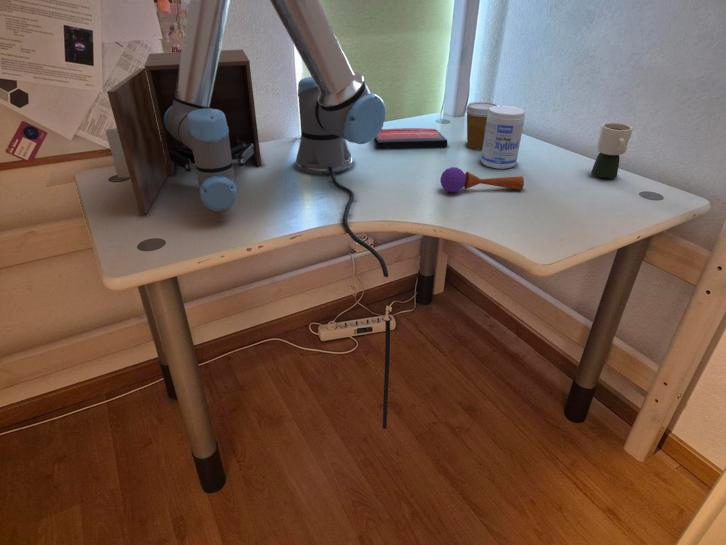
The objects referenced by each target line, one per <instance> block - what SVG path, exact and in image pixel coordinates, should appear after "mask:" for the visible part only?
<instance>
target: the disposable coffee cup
mask: <svg viewBox="0 0 726 545" xmlns="http://www.w3.org/2000/svg"><path fill="white" fill-rule="evenodd" d="M493 106H498V104H497V103H492V102H486V101H473V102H470V103H468V104H467V105H466V108H465V112H466V146H467V148H470V149H473V150H482V149H483V143H484V136H485V129H486V122H487V116H488V113H489V108H490V107H493Z"/></svg>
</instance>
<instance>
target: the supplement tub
mask: <svg viewBox="0 0 726 545" xmlns="http://www.w3.org/2000/svg"><path fill="white" fill-rule="evenodd" d="M525 117H526V110H525V109H523V108H521V107H519V106H512V105H497V106H493V107H490V108H489V113H488V116H487V122H486V129H485V136H484V143H483V149H481V156H480V161H481V163H482V164H483V165H484V166H486V167H488V168H491V169H497V170H501V169H502V170H505V169H510V168H511V169H512V168H513V167H515V166H516V165H517V160H518V155H519V151H520V145H521V139H522V135H523V128H524V124H525Z"/></svg>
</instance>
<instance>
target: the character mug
mask: <svg viewBox="0 0 726 545" xmlns="http://www.w3.org/2000/svg"><path fill="white" fill-rule="evenodd" d="M632 133H633V127H632V126H631V125H630V124H629V125H628V124H625V123H621V122H605V123H602V124H601V126H600V130H599V134H598V137H597V142H596V145H595V150H596V151H597V152H598V154H597V157H596V158H595V161H594V163H593V165H592V169H591V172H590V173H591V175H593V176H595V177H599V178H604V179H607V178H608V179H616V178H617V177H618V174H619V166H620V160H621V159H620V158H621V157H620V155H623V154H625V153H626V152H627V151H628V144H629V141H630V139H631V138H632Z"/></svg>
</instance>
